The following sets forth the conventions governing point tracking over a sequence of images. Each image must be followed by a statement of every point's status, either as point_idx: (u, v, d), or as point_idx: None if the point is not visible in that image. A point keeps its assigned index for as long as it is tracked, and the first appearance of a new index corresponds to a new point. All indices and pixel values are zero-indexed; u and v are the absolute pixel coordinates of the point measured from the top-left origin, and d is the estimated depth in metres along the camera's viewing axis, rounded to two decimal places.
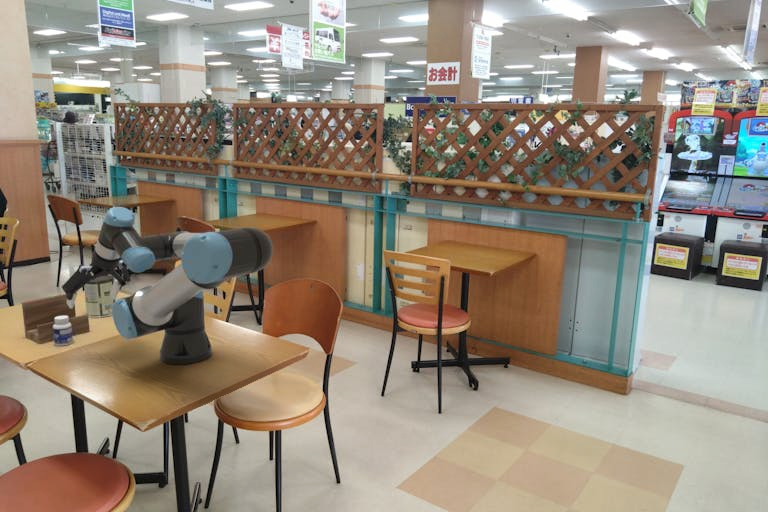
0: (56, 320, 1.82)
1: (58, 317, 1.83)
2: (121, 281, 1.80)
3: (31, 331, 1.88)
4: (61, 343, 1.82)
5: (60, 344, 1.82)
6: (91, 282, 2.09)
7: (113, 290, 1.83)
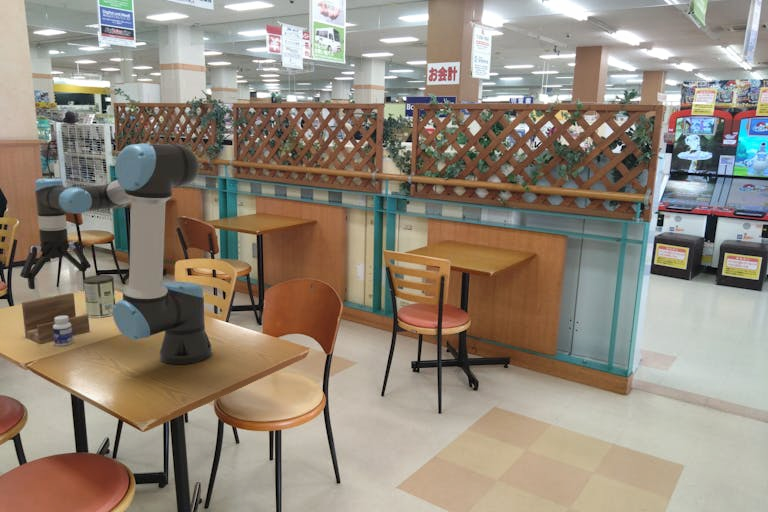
0: (56, 320, 1.82)
1: (58, 317, 1.83)
2: (81, 266, 1.85)
3: (31, 331, 1.88)
4: (61, 343, 1.82)
5: (60, 344, 1.82)
6: (91, 282, 2.09)
7: (78, 282, 1.87)
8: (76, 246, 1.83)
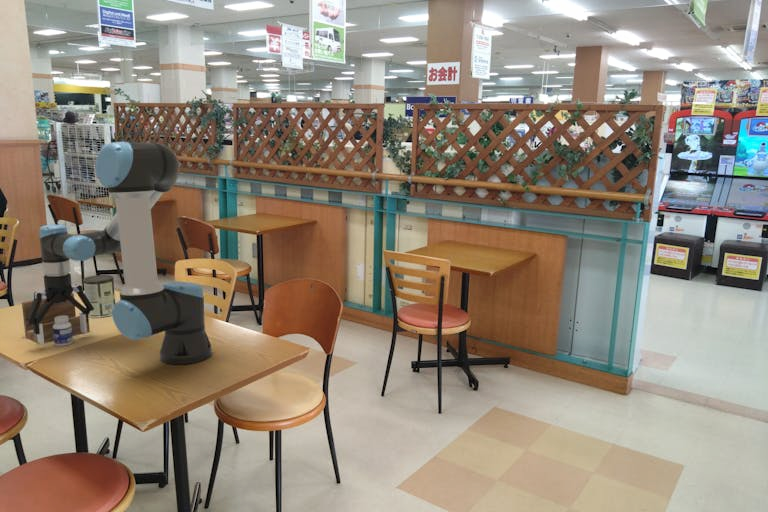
0: (56, 320, 1.82)
1: (58, 317, 1.83)
2: (84, 309, 1.88)
3: (31, 331, 1.88)
4: (61, 343, 1.82)
5: (60, 344, 1.82)
6: (91, 282, 2.09)
7: (82, 324, 1.89)
8: (80, 290, 1.86)
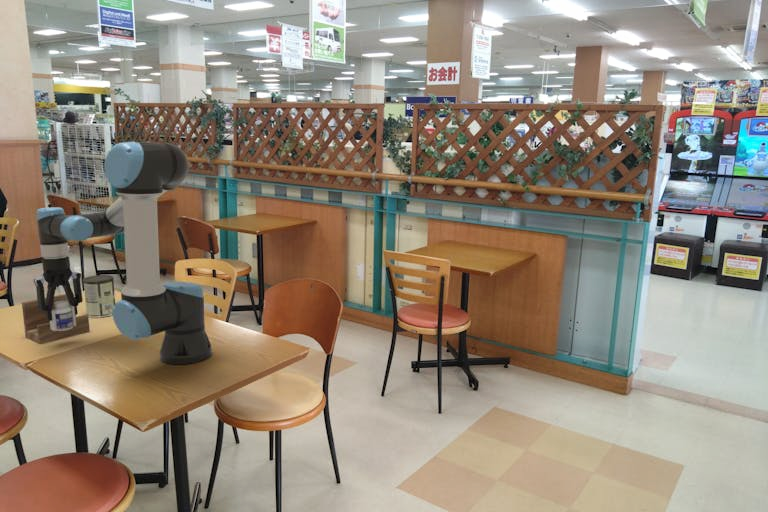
0: (56, 305, 1.80)
1: (58, 302, 1.82)
2: (74, 300, 1.84)
3: (31, 331, 1.88)
4: (61, 327, 1.81)
5: (61, 329, 1.81)
6: (91, 282, 2.09)
7: None
8: (77, 277, 1.85)
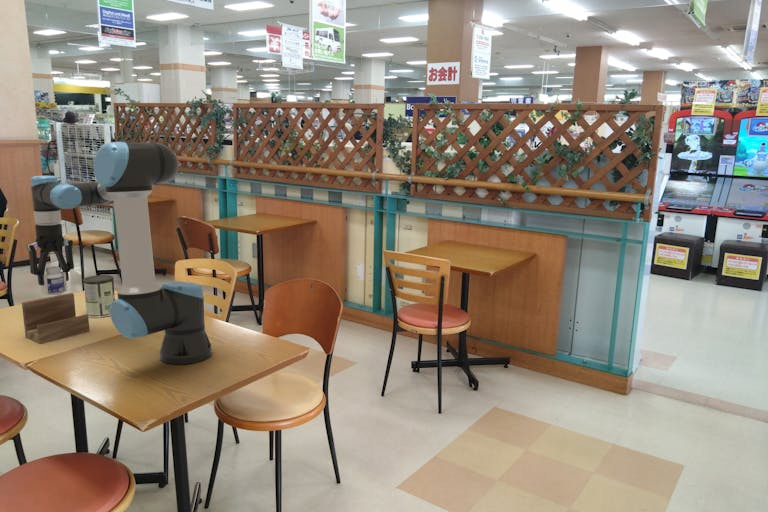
0: (48, 270, 1.87)
1: (50, 267, 1.88)
2: (65, 267, 1.91)
3: (31, 331, 1.88)
4: (52, 292, 1.87)
5: (52, 294, 1.88)
6: (91, 282, 2.09)
7: None
8: (69, 244, 1.91)
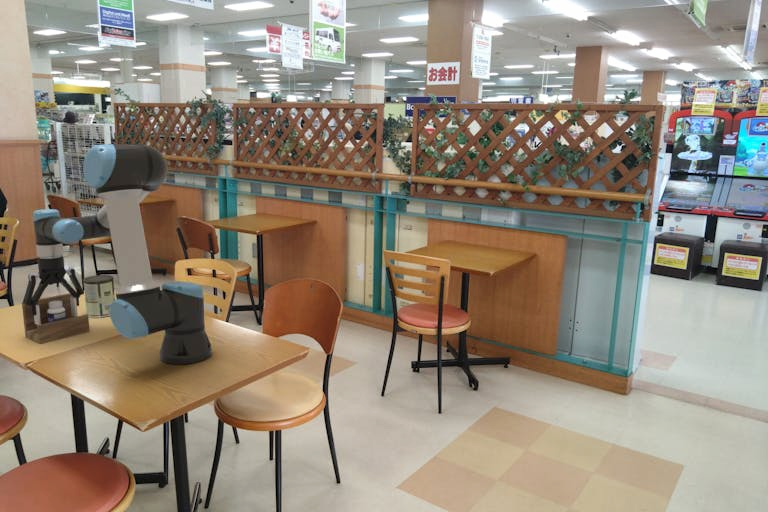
0: (50, 305, 1.89)
1: (52, 302, 1.91)
2: (75, 293, 1.95)
3: (31, 331, 1.88)
4: None
5: None
6: (91, 282, 2.09)
7: (72, 308, 1.96)
8: (72, 273, 1.94)
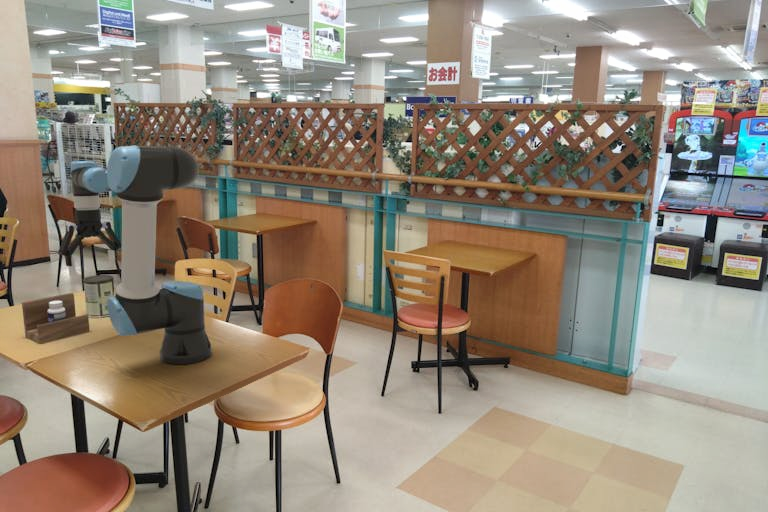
0: (50, 305, 1.89)
1: (52, 302, 1.91)
2: (113, 246, 1.94)
3: (31, 331, 1.88)
4: None
5: None
6: (91, 282, 2.09)
7: (110, 261, 1.95)
8: (108, 226, 1.92)
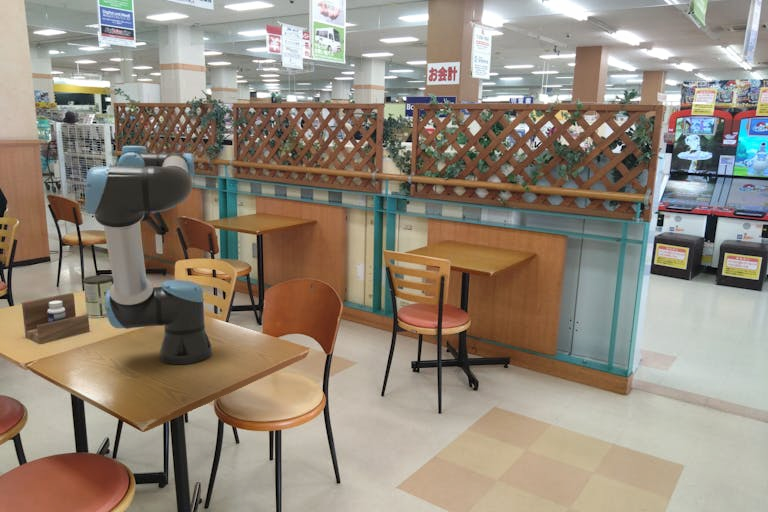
0: (50, 305, 1.89)
1: (52, 302, 1.91)
2: (160, 230, 1.96)
3: (31, 331, 1.88)
4: None
5: None
6: (91, 282, 2.09)
7: (158, 245, 1.97)
8: None
